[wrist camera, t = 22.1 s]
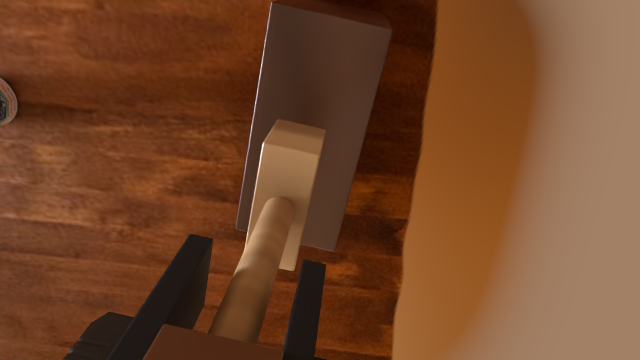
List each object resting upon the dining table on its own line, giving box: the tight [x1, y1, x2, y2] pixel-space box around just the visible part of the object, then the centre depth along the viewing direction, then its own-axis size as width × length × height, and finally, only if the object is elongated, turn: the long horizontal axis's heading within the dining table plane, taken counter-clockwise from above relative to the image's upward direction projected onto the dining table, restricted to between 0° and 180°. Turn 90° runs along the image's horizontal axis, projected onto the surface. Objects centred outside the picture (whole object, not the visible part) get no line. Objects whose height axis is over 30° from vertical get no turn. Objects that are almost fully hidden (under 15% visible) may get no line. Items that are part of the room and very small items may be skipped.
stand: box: [236, 0, 393, 252], centre depth 35 cm, size 7×15×12 cm, turn 168°
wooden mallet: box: [143, 119, 326, 360], centre depth 17 cm, size 6×3×17 cm, turn 168°
